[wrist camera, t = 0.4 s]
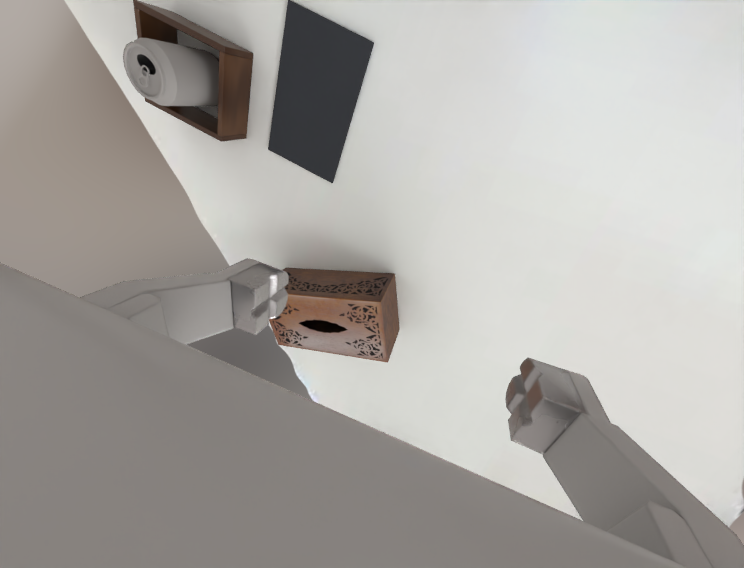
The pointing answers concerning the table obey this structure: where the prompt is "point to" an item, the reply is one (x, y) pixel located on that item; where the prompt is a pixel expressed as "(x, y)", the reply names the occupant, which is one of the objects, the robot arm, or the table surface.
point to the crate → (231, 72)
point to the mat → (316, 90)
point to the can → (172, 73)
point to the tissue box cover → (339, 313)
